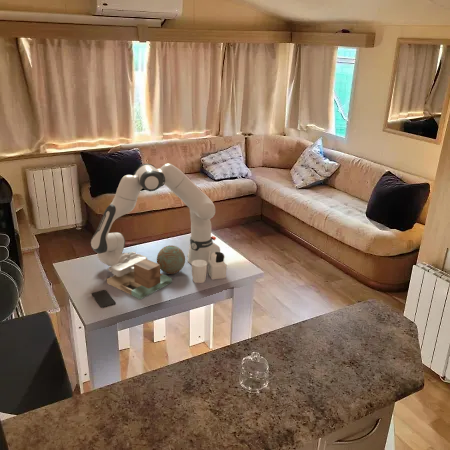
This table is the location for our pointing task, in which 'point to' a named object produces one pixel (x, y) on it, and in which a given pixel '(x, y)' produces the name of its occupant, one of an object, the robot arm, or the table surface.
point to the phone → (103, 298)
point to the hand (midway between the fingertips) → (140, 270)
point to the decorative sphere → (171, 259)
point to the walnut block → (147, 273)
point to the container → (217, 266)
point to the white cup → (199, 271)
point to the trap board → (136, 284)
